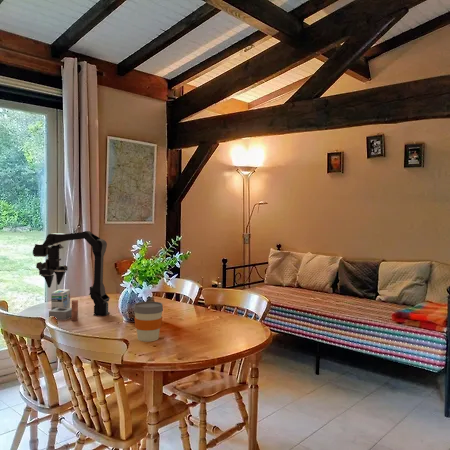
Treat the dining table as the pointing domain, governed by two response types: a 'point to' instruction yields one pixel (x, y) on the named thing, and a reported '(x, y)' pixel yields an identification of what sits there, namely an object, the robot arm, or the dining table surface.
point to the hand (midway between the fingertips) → (53, 286)
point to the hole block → (61, 313)
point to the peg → (74, 310)
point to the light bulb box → (60, 299)
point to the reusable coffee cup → (148, 320)
